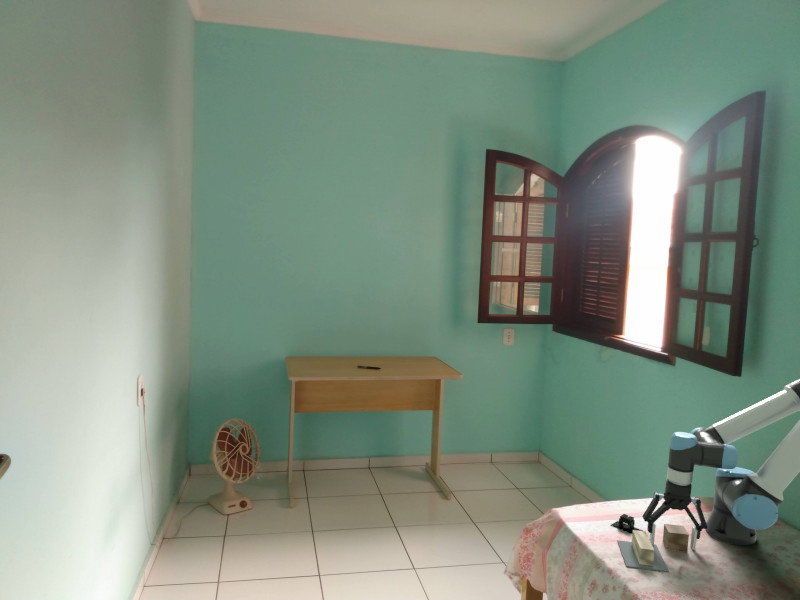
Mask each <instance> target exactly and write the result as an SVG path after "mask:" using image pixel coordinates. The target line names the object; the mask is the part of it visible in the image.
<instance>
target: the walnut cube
mask: <svg viewBox="0 0 800 600" xmlns="http://www.w3.org/2000/svg"><path fill="white" fill-rule="evenodd" d="M662 533H663V535H662V542H663V544H664V546H665V549H666V550H667V551H673V552H681V553H682V552H683V553H688V550H689V549H688V548H689V538H690V537H689V536H690V535H689V533H688V531H687V530H686V528H685V526H684V525H680V524H667V523H663V532H662Z"/></svg>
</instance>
